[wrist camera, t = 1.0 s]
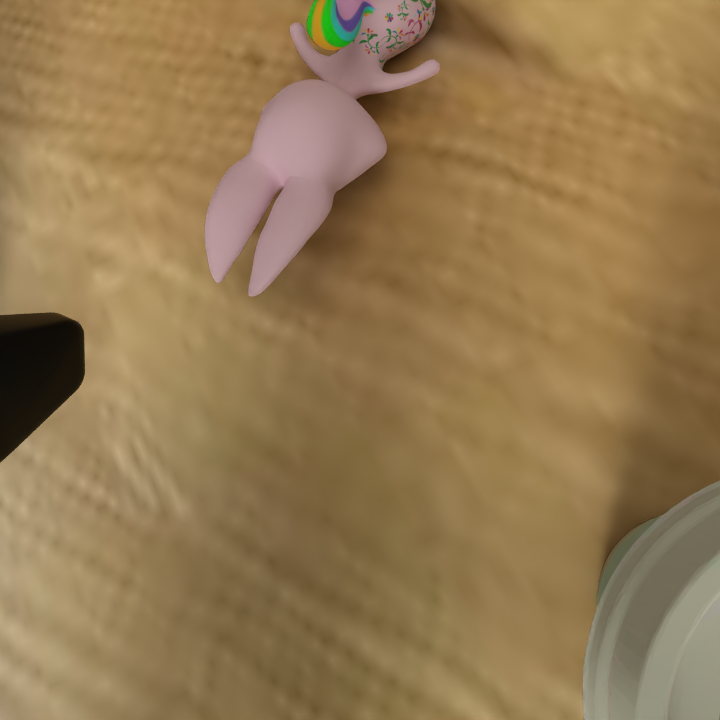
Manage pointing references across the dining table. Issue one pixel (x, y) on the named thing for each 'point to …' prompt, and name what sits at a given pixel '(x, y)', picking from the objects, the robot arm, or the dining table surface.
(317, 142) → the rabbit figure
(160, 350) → the dining table surface
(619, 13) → the dining table surface
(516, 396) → the dining table surface
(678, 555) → the coffee cup
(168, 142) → the dining table surface
